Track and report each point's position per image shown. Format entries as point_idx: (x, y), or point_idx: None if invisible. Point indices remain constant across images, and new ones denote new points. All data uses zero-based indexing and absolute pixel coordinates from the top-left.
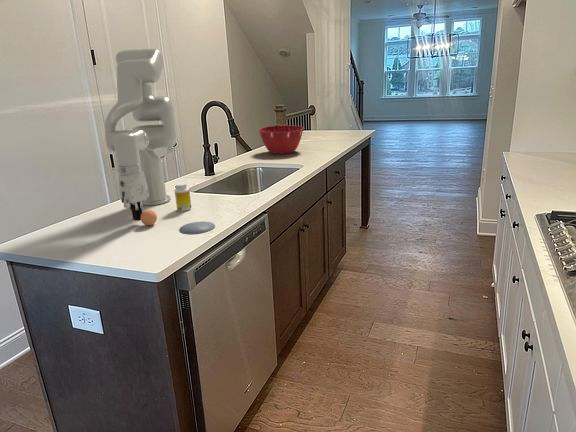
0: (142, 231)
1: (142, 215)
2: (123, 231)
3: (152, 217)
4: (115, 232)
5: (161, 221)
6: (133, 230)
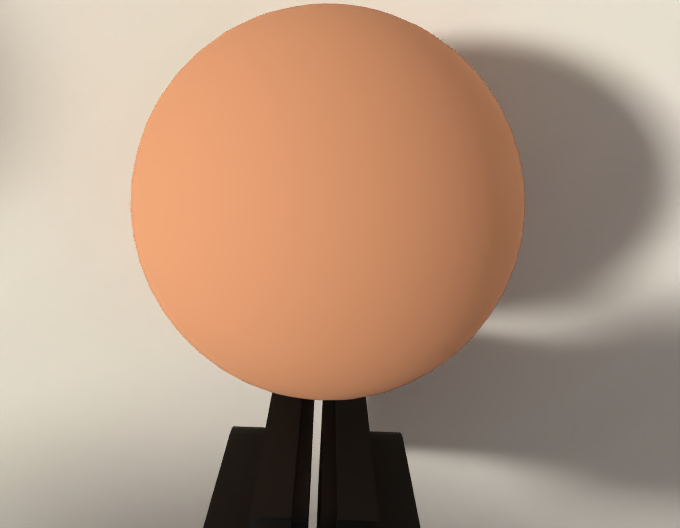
0: (650, 111)
1: (502, 291)
2: (641, 409)
3: (423, 32)
4: (677, 484)
5: (101, 70)
6: (600, 294)
